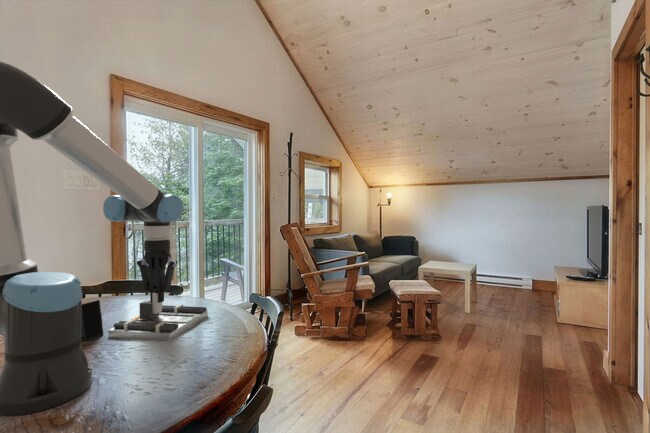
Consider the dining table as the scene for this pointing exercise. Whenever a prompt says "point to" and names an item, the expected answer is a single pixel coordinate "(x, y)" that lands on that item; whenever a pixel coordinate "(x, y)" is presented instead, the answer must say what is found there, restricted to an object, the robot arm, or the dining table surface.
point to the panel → (180, 318)
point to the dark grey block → (147, 310)
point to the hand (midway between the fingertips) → (157, 312)
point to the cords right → (183, 309)
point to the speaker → (91, 320)
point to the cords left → (146, 325)
